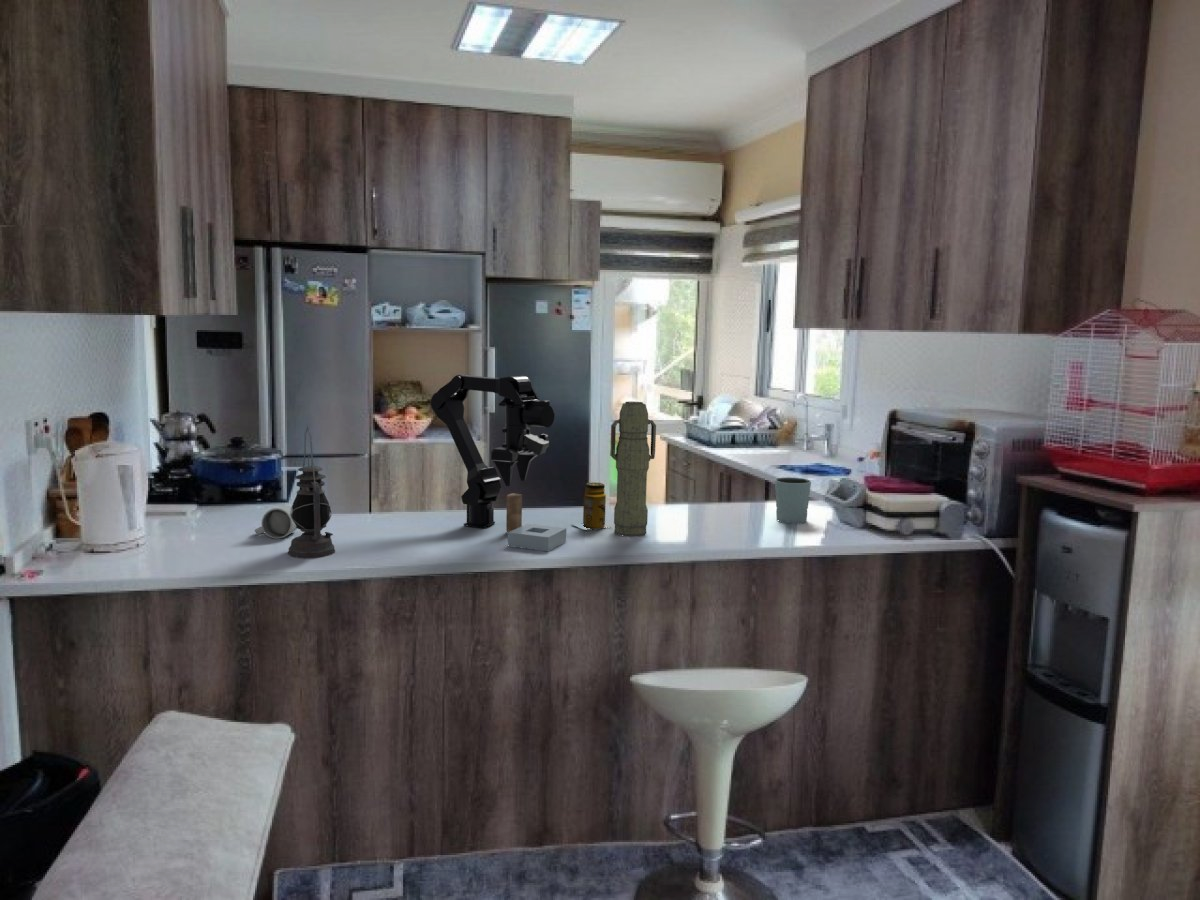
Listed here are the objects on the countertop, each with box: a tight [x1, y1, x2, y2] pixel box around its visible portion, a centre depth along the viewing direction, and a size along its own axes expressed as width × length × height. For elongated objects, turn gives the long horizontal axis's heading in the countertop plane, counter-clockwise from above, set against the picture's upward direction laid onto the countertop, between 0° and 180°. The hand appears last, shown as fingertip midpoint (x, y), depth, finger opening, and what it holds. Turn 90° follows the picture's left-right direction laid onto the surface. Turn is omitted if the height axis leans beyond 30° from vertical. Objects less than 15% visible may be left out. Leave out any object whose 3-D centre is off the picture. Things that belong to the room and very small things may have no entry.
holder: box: [507, 523, 567, 552], centre depth 218 cm, size 11×11×4 cm
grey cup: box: [774, 476, 812, 525], centre depth 252 cm, size 10×10×12 cm
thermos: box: [609, 401, 657, 537], centre depth 231 cm, size 9×12×35 cm
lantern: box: [287, 425, 336, 559], centre depth 203 cm, size 12×11×30 cm
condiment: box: [582, 482, 611, 531], centre depth 238 cm, size 7×8×12 cm
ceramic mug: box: [254, 505, 298, 540], centre depth 221 cm, size 11×8×8 cm
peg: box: [505, 493, 523, 532], centre depth 230 cm, size 3×3×10 cm
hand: (515, 483), depth 229 cm, fingers open, 9 cm apart
